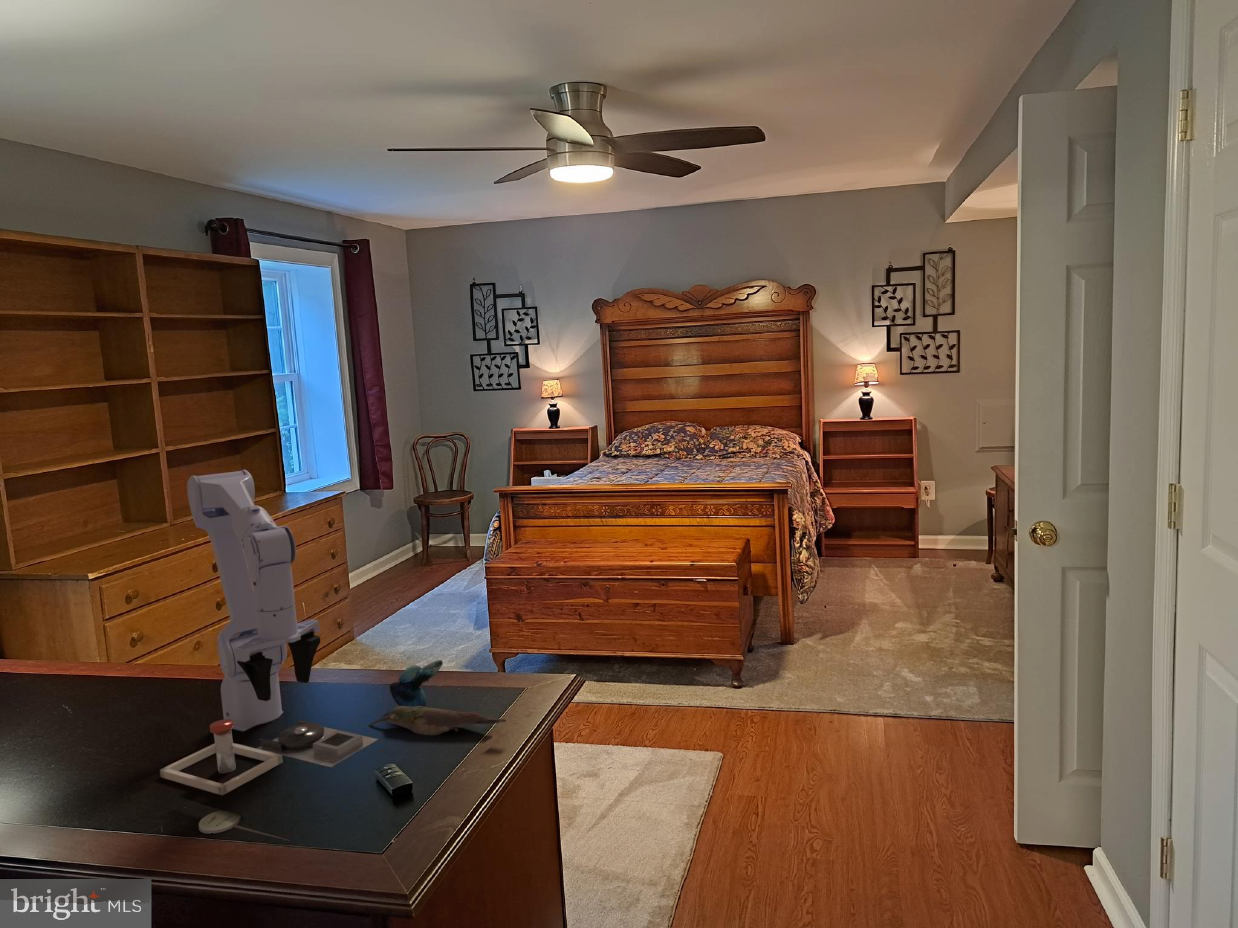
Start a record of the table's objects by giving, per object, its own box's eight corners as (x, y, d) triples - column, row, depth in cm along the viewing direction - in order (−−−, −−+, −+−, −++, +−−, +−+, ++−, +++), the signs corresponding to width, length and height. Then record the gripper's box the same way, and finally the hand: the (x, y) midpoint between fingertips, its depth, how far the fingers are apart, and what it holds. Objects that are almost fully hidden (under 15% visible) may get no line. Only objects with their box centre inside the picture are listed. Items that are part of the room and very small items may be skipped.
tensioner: (257, 755, 137) (255, 737, 137) (306, 729, 146) (304, 712, 146) (331, 774, 130) (329, 755, 130) (378, 746, 139) (377, 728, 138)
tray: (161, 784, 129) (159, 769, 129) (223, 753, 139) (221, 739, 138) (223, 802, 123) (221, 787, 123) (283, 769, 132) (281, 755, 132)
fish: (441, 721, 147) (437, 664, 146) (386, 718, 149) (381, 662, 148) (451, 710, 151) (447, 655, 150) (397, 708, 153) (393, 653, 152)
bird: (513, 734, 141) (511, 705, 140) (501, 749, 136) (498, 718, 135) (373, 724, 147) (371, 696, 146) (357, 738, 142) (354, 708, 141)
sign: (274, 849, 110) (189, 825, 116) (274, 855, 110) (190, 831, 117) (304, 827, 115) (221, 806, 121) (304, 834, 115) (222, 811, 121)
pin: (211, 776, 130) (204, 726, 129) (227, 767, 133) (221, 718, 132) (227, 779, 129) (221, 728, 128) (243, 769, 132) (238, 720, 131)
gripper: (254, 623, 127) (263, 712, 129) (329, 595, 139) (337, 677, 141) (221, 617, 130) (231, 704, 132) (298, 591, 143) (306, 671, 145)
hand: (284, 690), depth 137 cm, fingers open, 7 cm apart
